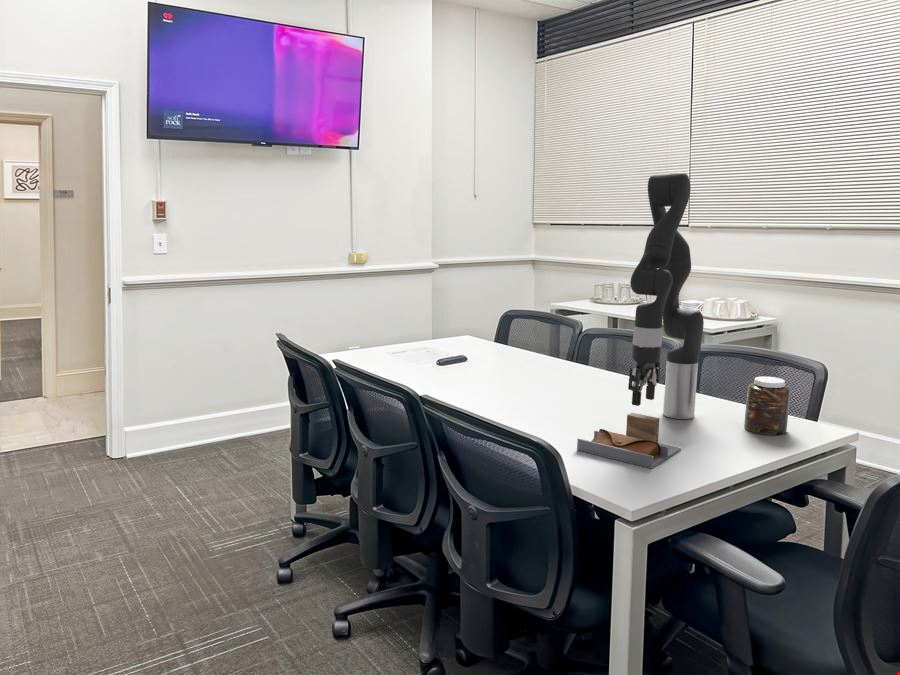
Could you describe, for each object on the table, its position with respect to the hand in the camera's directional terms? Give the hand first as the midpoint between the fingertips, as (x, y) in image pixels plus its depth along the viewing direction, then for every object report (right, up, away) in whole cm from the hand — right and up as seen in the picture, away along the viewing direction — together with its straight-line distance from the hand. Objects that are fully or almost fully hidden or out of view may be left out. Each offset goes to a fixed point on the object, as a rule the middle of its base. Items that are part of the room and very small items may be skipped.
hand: (643, 402), depth 201 cm
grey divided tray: (-4, -12, -3) cm, 13 cm away
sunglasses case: (-7, -13, -7) cm, 16 cm away
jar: (+40, -10, +16) cm, 44 cm away
